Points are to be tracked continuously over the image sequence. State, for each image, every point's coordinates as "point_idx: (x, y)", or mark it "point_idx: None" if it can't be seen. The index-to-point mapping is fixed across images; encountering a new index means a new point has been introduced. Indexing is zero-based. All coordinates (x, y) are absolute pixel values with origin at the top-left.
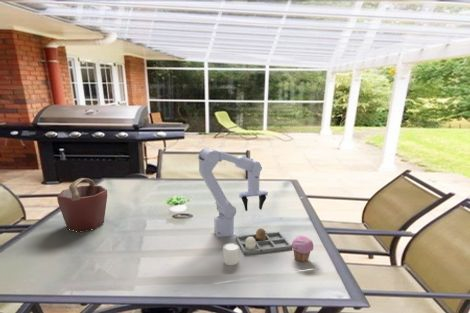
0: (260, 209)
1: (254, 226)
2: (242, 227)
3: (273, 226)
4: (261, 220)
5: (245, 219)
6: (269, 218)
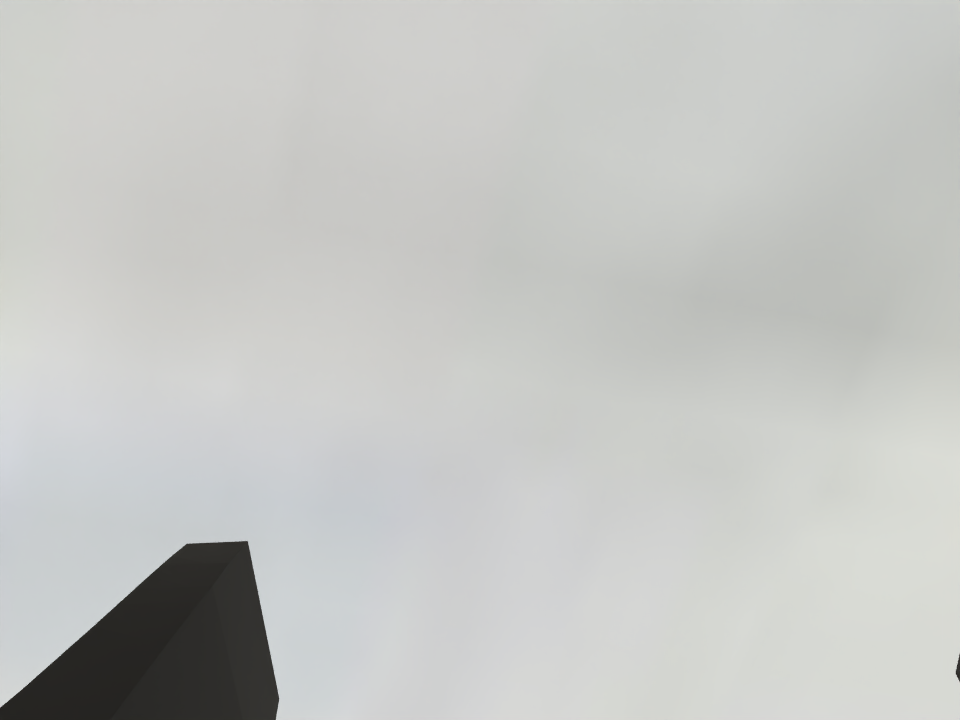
0: (241, 549)
1: (507, 309)
2: (827, 308)
3: (3, 217)
4: (259, 585)
5: (607, 684)
6: (57, 645)
